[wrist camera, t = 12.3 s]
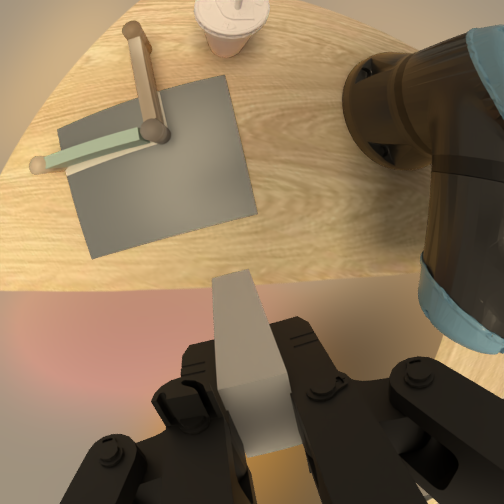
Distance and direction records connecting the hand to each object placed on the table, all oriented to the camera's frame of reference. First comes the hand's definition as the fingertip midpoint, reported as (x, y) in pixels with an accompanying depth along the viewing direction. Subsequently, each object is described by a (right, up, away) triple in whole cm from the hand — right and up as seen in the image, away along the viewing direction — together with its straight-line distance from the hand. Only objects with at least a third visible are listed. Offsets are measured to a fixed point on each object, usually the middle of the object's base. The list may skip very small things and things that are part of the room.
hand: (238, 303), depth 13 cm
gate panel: (-16, +13, +17) cm, 27 cm away
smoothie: (-2, +25, +16) cm, 30 cm away
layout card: (-10, +11, +19) cm, 24 cm away
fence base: (-10, +19, +16) cm, 27 cm away
